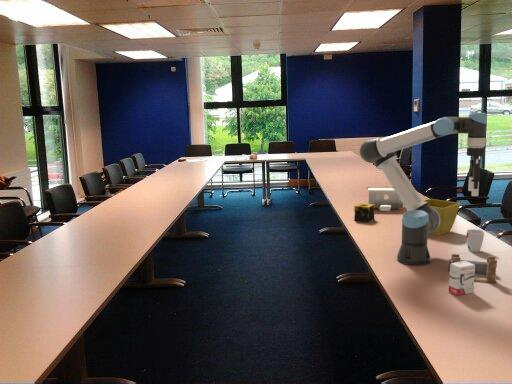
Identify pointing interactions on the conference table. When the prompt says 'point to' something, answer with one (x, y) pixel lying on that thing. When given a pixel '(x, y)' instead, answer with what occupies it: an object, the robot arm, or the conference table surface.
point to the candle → (364, 212)
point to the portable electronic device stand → (384, 204)
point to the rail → (479, 266)
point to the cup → (474, 240)
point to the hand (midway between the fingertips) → (473, 193)
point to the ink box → (461, 278)
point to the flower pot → (444, 214)
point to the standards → (490, 269)
